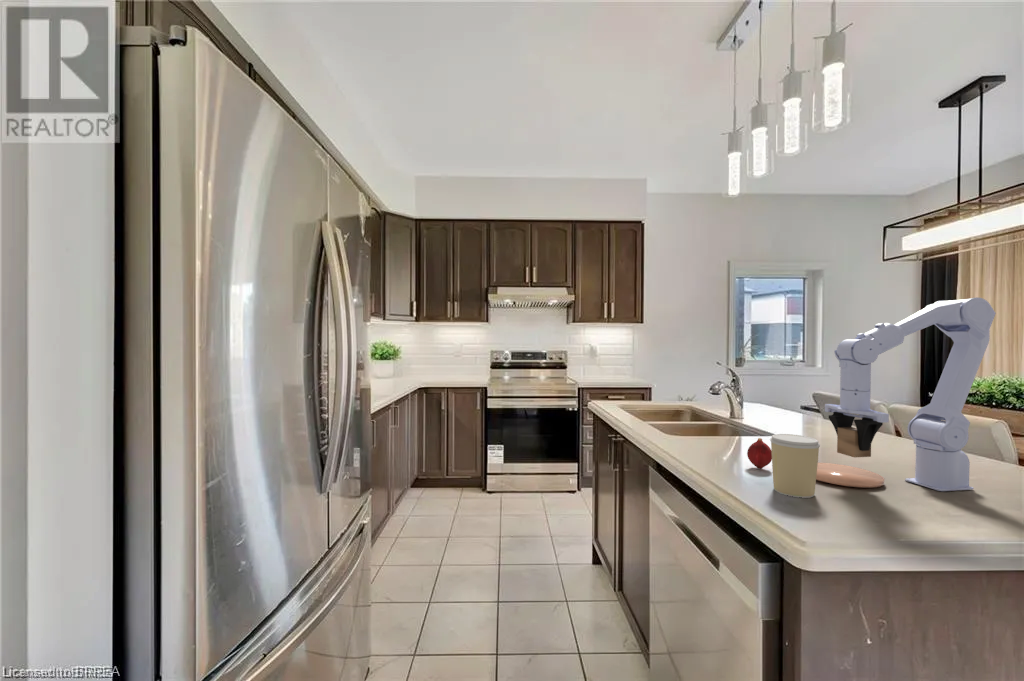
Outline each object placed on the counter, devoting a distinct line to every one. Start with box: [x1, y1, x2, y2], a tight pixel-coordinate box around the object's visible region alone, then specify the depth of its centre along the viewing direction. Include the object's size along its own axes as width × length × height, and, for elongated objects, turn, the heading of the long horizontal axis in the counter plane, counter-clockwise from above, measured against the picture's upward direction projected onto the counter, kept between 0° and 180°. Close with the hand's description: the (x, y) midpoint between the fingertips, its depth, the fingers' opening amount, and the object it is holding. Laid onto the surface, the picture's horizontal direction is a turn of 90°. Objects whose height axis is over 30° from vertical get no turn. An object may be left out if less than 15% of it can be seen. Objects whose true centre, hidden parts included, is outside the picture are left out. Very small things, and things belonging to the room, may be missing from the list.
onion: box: [746, 437, 772, 470], centre depth 118 cm, size 6×6×8 cm
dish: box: [816, 462, 885, 488], centre depth 111 cm, size 17×17×2 cm
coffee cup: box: [770, 433, 821, 499], centre depth 101 cm, size 9×9×12 cm
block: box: [836, 426, 872, 458], centre depth 107 cm, size 4×4×6 cm
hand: (854, 447), depth 107 cm, fingers closed on block, 4 cm apart
